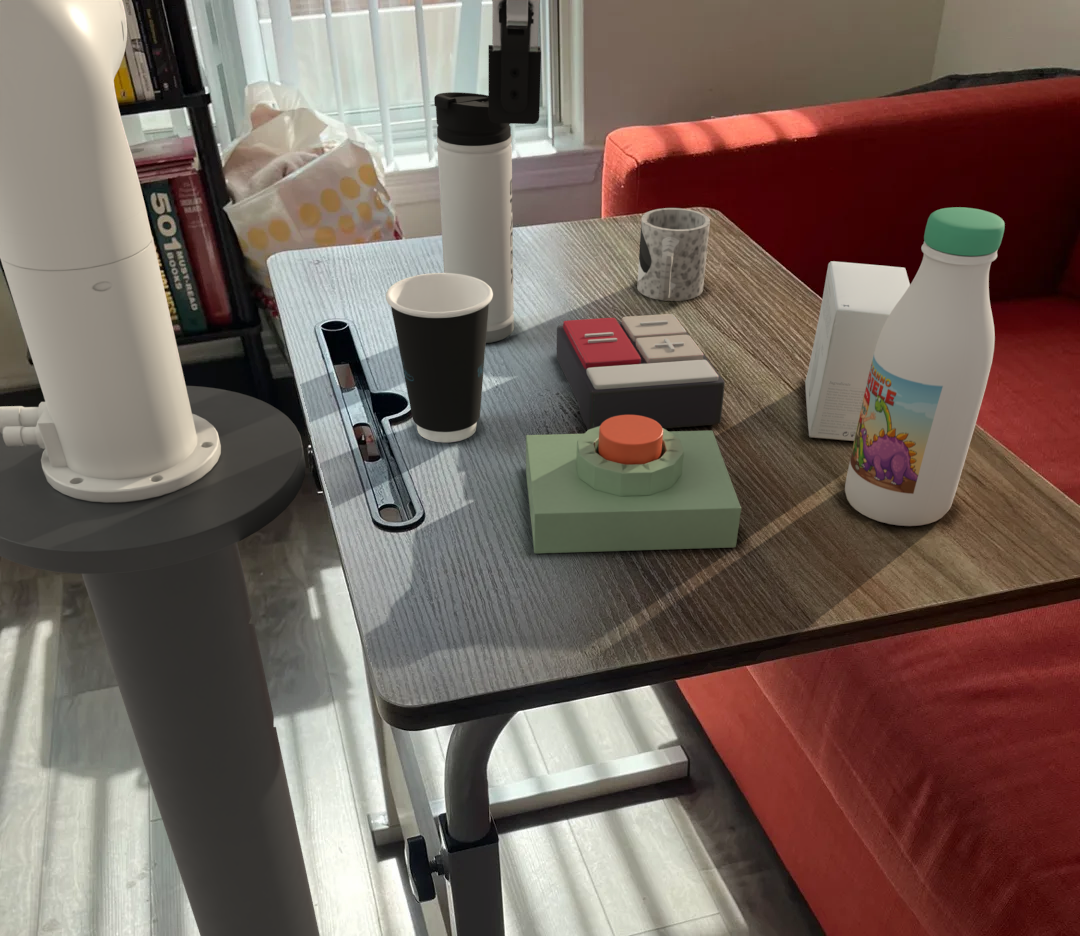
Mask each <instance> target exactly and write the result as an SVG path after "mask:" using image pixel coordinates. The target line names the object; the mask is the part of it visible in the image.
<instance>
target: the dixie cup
mask: <svg viewBox="0 0 1080 936" xmlns="http://www.w3.org/2000/svg"><path fill="white" fill-rule="evenodd" d="M492 297H493V292H492V289H491V288H490V286H489V285H488V284H486V283H485V282H483V281H482V280H480V279H477V278H474V277H471V276H467V275H461V274H453V273H444V272H433V273H422V274H417V275H411V276H410V277H406V278H403V279H400V280H398V281H396V282H394V283H393V284H392V285H391V286H390V287H389V288H387V291H386V293H385V300H386V302H387V304H388V305H389V306H390V309H391V315H392V320H393V324H394V329H395V335H396V340H397V345H398V349H399V350H398V351H399V354H400V361H401V365H402V371H403V376H404V381H405V387H406V391H407V397H408V402H409V407H410V413H411V418H412V421H413V422H414V424H415V426H416V430H417V433H418V434H419V435H420V436H421V437H422V438H424V439H425V440H428V441H430V442H435V443H455V442H460V441H463V440H466V439H469V438H470V437H472V436H473V435H474V434H475V433H476V431H477V425H478V424H477V423H478V421H479V420H480V418H481V407H482V395H483V381H484V369H485V356H486V344H487V343H486V333H487V321H488V308H489V303H490V301H491V300H492Z"/></svg>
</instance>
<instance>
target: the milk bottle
mask: <svg viewBox="0 0 1080 936" xmlns="http://www.w3.org/2000/svg"><path fill="white" fill-rule="evenodd" d="M1005 224H1006V223H1005V221H1004V220H1003V218H1002V217H1000V216H999V215H997V214H995V213H993V212H990V211H987V210H984V209H979V208H973V207H961V206H959V207H957V206H956V207H953V206H952V207H944V208H940V209H937V210H934V211H933V212H931V213H930V214H929V216H928V218H927V222H926V224H925V229H924V235H923V240H924V241H923V244H922V245H921V248H920V249H921V252H922V253H923V256H922V260H921V262H920V266H919V268H918V269H917V272H916V274H915V275H914V278H913V279H912V281H911V283H910V286H909V288H908V289H907V291H906V292H905V293H904V295H903V296H902V298H901V299H900V300H899V302H898V303H897V304H896V306H895V307H894V309H893V310H892V312H891V313H890V315H889V317H888V318H887V320H886V322H885V324H884V326H883V328H882V330H881V333H880V336H879V338H878V341H877V344H876V348H875V352H874V356H873V360H872V363H871V367H870V371H869V376H868V380H867V385H866V389H865V394H864V398H863V403H862V407H861V411H860V416H859V421H858V425H857V430H856V435H855V439H854V441H853V444H852V449H851V454H850V458H849V463H848V468H847V472H846V479H845V484H844V493H845V497H846V499H847V502H848V503H849V505H850V506H851V507H852V508H853V509H854V510H855V511H856V512H859V513H860V514H861V515H863V516H865V517H867V518H869V519H871V520H874V521H877V522H880V523H883V524H884V523H885V524H887V525H895V526H902V527H903V526H904V527H916V526H924V525H929V524H931V523H934V522H937V521H939V520H940V519H943V517H944V516H945V515H946V514H947V513H948V512H949V510H950V509H951V508H952V505H953V502H954V500H955V496H956V493H957V489H958V486H959V483H960V480H961V476H962V473H963V469H964V466H965V463H966V459H967V457H968V456H967V455H968V451H969V448H970V446H971V441H972V438H973V434H974V432H975V429H976V425H977V421H978V417H979V413H980V410H981V406H982V403H983V399H984V395H985V392H986V388H987V385H988V380H989V376H990V372H991V368H992V364H993V360H994V359H993V358H994V353H995V343H996V342H995V341H996V336H995V324H994V317H993V312H992V308H991V307H992V306H991V300H990V288H989V287H990V282H989V281H990V270H991V265H992V262H994V261H996V260H997V258H998V250H999V249H1000V246H1001V244H1002V241H1003V237H1004V233H1005V229H1006V228H1005V226H1006V225H1005Z"/></svg>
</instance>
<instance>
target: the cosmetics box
mask: <svg viewBox="0 0 1080 936" xmlns="http://www.w3.org/2000/svg"><path fill="white" fill-rule="evenodd" d="M826 269H827V270H826V275H825V280H824V281H825V282H824V286H823V287H824V288H823V292H822V293H823V294H822V298H821V299H822V300H821V304H820V310H819V315H818V319H817V325H816V331H815V335H814V339H813V345H812V350H811V355H810V359H809V365H808V369H807V371H806V377H805V382H804V384H805V385H804V386H805V401H806V403H805V404H806V416H807V426H808V427H807V428H808V436H809V438H812V439H825V440H839V441H851V442H854V439H855V435H856V430H857V425H858V421H859V416H860V411H861V407H862V403H863V398H864V394H865V389H866V385H867V380H868V376H869V371H870V367H871V363H872V360H873V356H874V352H875V348H876V344H877V341H878V338H879V336H880V333H881V330H882V328H883V326H884V324H885V322H886V320H887V318H888V317H889V315H890V313H891V312H892V310H893V309H894V307H895V306H896V304H897V303H898V302H899V300H900V299H901V298H902V296H903V295H904V293H905V292H906V291H907V289H908V288H909V286H910V284H911V283H910V280H909V276H908V273H907V270H906V267H901V266H892V265H891V266H890V265H879V264H869V263H858V262H847V261H835V260H833V261H830V262H828V264H827V268H826Z"/></svg>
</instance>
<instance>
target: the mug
mask: <svg viewBox="0 0 1080 936" xmlns="http://www.w3.org/2000/svg"><path fill="white" fill-rule="evenodd" d="M640 221H641V222H640V223H641V224H640V234H639V235H640V236H639V252H638V267H637V282H636V283H637V284H636V289H637V291H638V292H639V294H641V295H643V296H645V297H647V298H650V299H653V300H658V301H665V302H666V301H667V302H681V301H687V300H688V301H689V300H692V299H695V298H697V297H699V296H701V295H702V293H703V291H704V285H705V274H706V264H707V255H708V247H709V237H710V236H709V235H710V227H711V218H710V217H709V215H706V214H705V213H703V212H700V211H698V210H694V209H688V208H681V207H665V208H664V207H663V208H656V209H652V210H649V211H646V212H645V213H643V215H642V216H641V220H640Z"/></svg>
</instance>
